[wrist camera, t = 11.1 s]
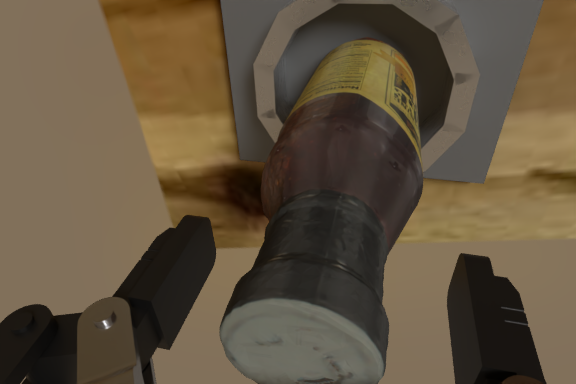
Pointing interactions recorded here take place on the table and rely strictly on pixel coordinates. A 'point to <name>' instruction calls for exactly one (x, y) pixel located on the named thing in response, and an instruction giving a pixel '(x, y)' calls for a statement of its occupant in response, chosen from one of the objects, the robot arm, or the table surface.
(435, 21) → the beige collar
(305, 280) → the sauce bottle
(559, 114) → the table surface
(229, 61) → the charcoal base
